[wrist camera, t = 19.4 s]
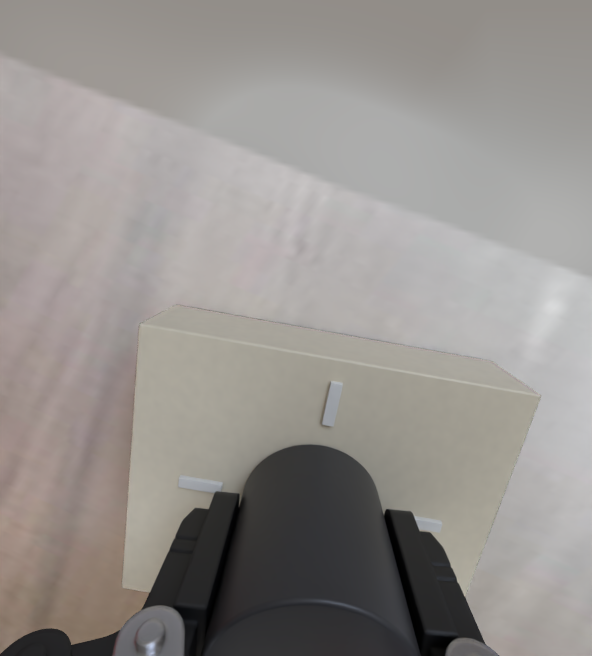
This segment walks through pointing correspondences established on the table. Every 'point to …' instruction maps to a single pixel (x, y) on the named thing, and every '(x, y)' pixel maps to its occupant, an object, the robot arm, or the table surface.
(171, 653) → the robot arm
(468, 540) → the panel
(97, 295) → the table surface
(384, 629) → the valve knob
